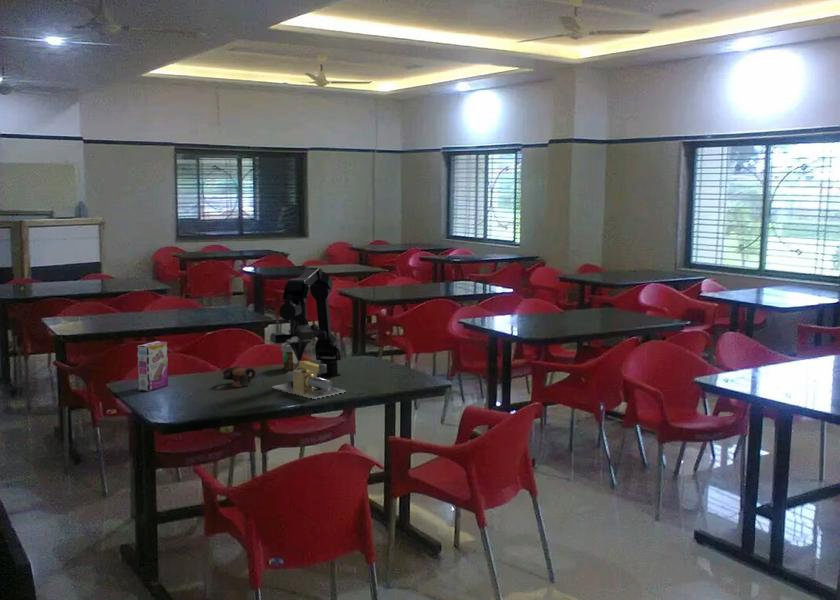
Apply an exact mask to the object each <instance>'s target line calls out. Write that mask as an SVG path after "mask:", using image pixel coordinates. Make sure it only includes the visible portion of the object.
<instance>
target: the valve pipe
mask: <svg viewBox="0 0 840 600" xmlns="http://www.w3.org/2000/svg"><path fill="white" fill-rule="evenodd" d="M285 380H286V381H288V382H286V383H282V384H276V385H272V388H274V389H273V390H276V389H277V390H276V391H280V390H281V391H280V392H283V393H287V392H288V394H291V393H292V395H295V394H296V396H298V395H299V397H302V396H303V398H306V397H307V398H306V399H310V398H312V399H311V400H313V399H316V400H318V399H317V398H320V399H323V398H322V397H324V398H327V397H326V396H329V397H331V395H333V396H336V395H335V394H337V395H340V394H339V393H342V394H345V393H344V392H346V389H341V388H338V387H337V388H336V387H334V386H333V382H332V381H331V380H330V379H329V380H328V379H325V378H321V377H318V372H314V371H311V370H307V369H303V368H300V369H296V370H295V371H287V372H286V374H285Z"/></svg>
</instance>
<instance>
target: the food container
mask: <svg viewBox="0 0 840 600" xmlns="http://www.w3.org/2000/svg"><path fill="white" fill-rule="evenodd" d="M281 344H282V345H281V346H280V347H281V348H280V351H281V352H282V360H283V369H284V371H287V372H289V371H292V372H293V371H296V370H298V369H300V366H299V362H300V361H298V360H297V358H296V356H295V354H294V351H293V349H292V347H291V346H290V344H289V343H287V342H285V343H281ZM297 368H298V369H297Z"/></svg>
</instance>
